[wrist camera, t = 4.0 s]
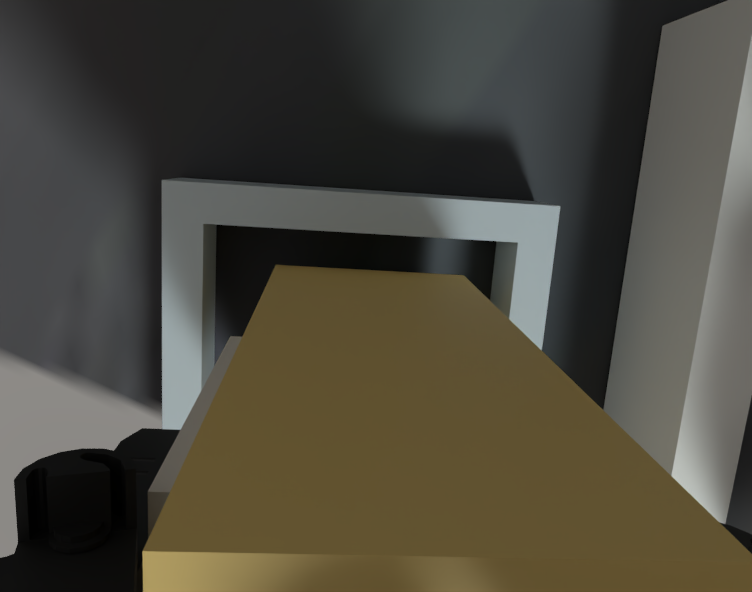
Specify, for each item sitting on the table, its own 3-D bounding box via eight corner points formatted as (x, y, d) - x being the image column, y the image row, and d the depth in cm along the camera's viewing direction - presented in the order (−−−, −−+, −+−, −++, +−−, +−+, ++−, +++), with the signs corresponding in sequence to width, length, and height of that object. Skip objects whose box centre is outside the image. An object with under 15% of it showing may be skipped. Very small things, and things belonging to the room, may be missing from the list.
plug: (275, 264, 16) (15, 825, 3) (463, 275, 17) (1014, 809, 3) (269, 440, 18) (61, 1444, 4) (446, 446, 18) (800, 1369, 4)
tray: (179, 177, 17) (161, 180, 15) (535, 200, 18) (560, 206, 16) (178, 508, 19) (162, 547, 17) (496, 514, 20) (515, 552, 18)
